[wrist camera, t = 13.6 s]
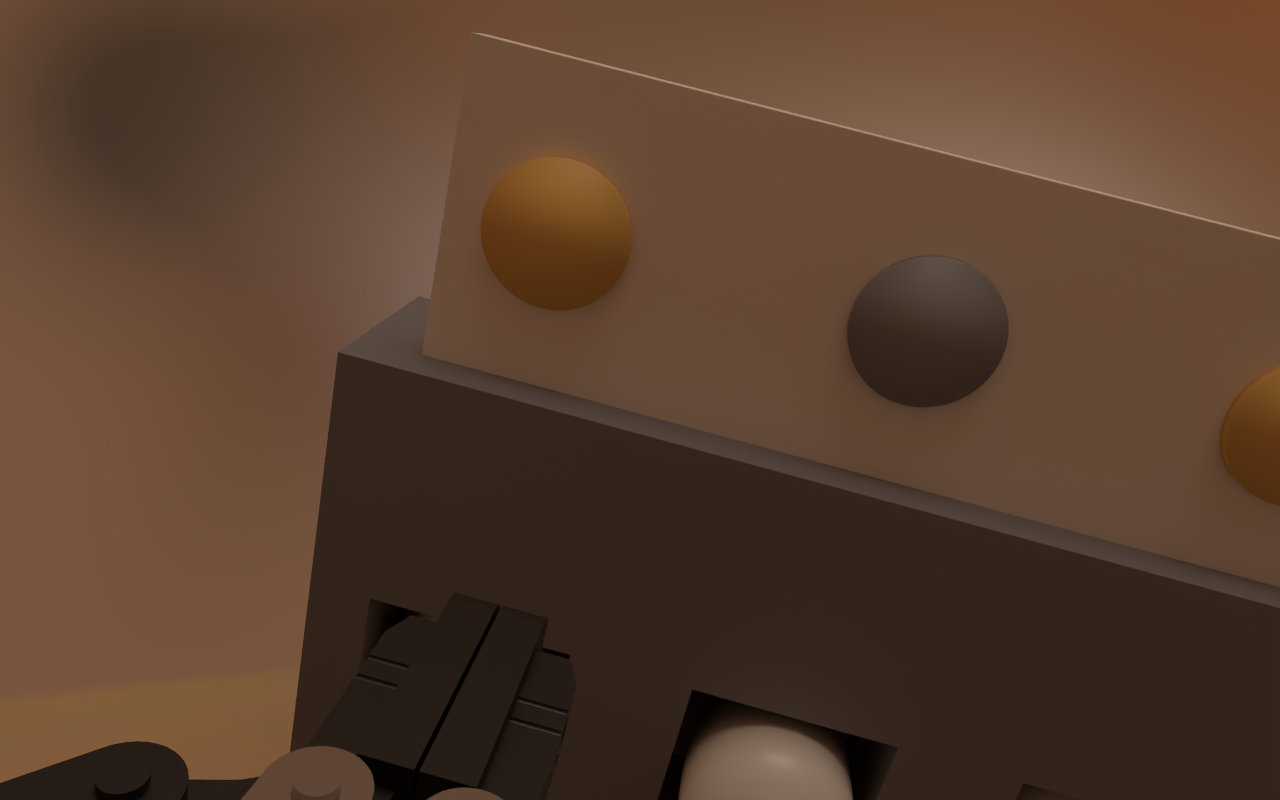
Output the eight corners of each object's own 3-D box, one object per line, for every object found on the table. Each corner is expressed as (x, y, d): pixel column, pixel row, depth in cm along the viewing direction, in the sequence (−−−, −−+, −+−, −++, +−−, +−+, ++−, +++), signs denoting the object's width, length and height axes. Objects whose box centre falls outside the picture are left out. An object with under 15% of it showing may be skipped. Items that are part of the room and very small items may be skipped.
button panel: (1012, 990, 32) (1282, 509, 25) (1084, 1268, 25) (1493, 698, 18) (356, 799, 33) (437, 283, 26) (237, 1012, 26) (306, 374, 19)
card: (1319, 584, 21) (1493, 292, 19) (1347, 611, 20) (1536, 306, 18) (433, 344, 22) (483, 33, 19) (417, 358, 21) (467, 32, 18)
